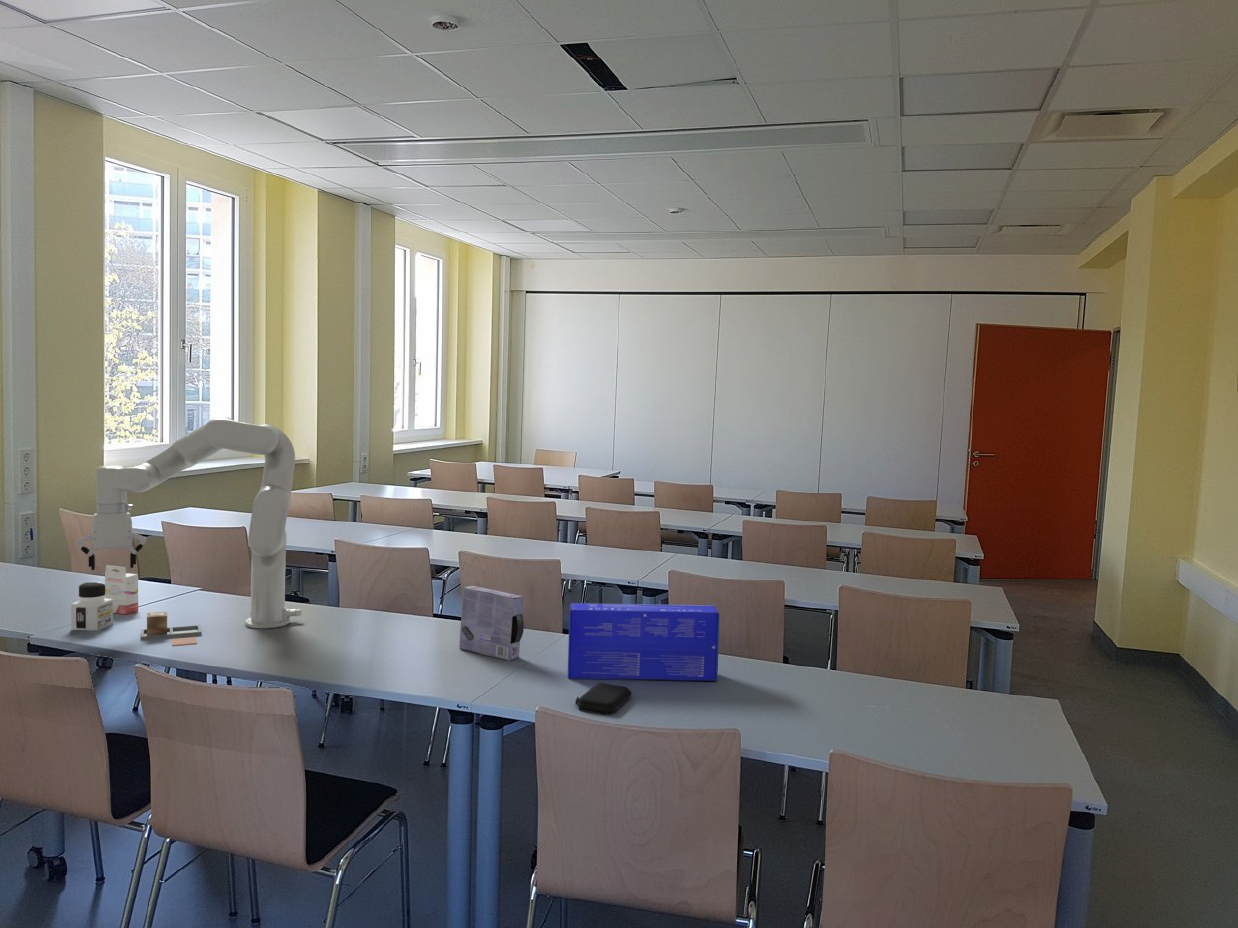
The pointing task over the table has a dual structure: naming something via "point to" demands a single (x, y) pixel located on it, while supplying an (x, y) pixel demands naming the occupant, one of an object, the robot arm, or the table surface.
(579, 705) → the carrying case or bag
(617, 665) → the toner cartridge box
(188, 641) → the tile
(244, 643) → the table surface
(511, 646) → the cake pan box
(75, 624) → the container
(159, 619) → the brown labeled box
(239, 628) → the table surface
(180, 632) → the cubby strip
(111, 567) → the ink cartridge box
